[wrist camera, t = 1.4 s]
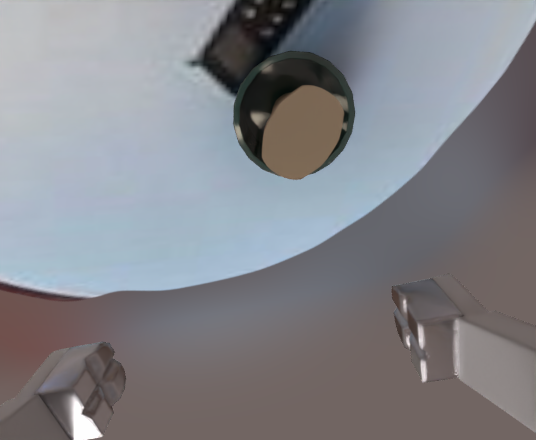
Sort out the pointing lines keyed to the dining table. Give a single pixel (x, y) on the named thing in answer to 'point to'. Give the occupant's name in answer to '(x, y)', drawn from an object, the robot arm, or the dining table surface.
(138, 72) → the dining table surface
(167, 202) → the dining table surface
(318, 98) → the handle
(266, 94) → the crock
